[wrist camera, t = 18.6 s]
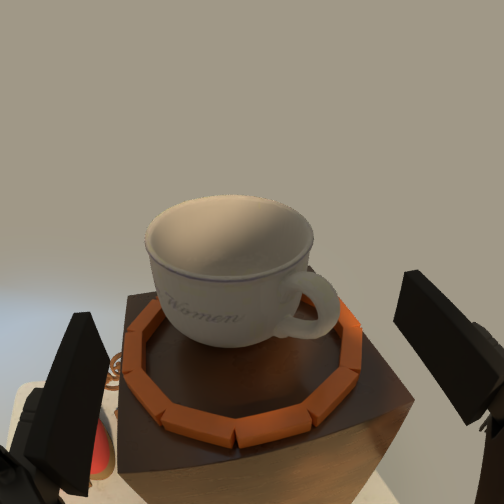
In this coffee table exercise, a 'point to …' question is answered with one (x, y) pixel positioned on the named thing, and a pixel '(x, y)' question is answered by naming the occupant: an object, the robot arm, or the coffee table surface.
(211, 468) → the plinth
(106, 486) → the coffee table surface
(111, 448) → the decorative object
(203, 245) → the teacup
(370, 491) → the coffee table surface
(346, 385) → the ring
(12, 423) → the coffee table surface
